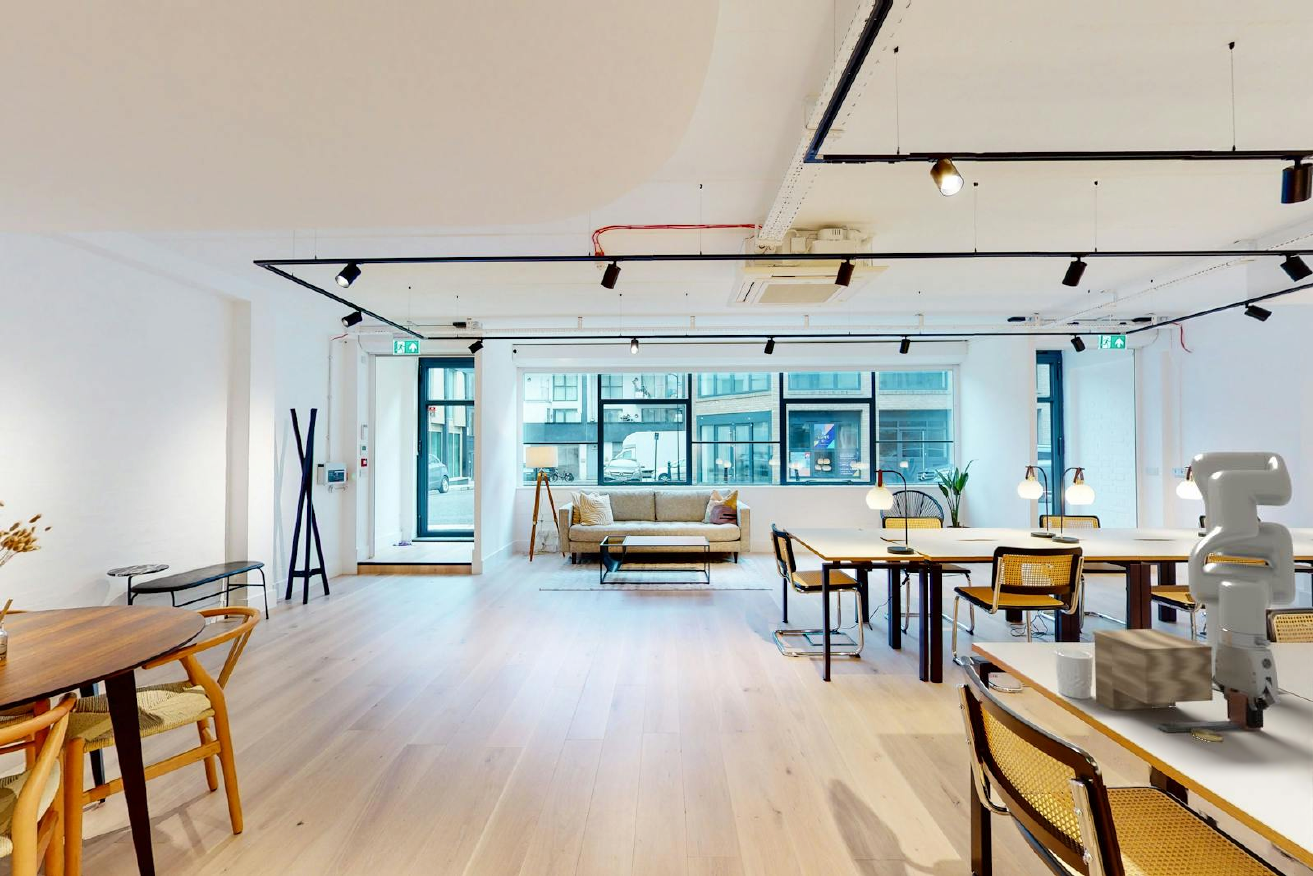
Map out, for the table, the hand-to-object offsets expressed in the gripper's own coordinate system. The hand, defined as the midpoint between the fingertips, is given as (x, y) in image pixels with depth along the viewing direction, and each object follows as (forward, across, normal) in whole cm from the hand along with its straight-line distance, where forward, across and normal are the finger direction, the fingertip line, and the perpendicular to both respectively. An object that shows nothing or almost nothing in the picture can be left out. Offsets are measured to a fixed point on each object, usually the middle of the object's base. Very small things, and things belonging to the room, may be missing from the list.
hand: (1245, 722), depth 137 cm
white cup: (+1, +22, +22) cm, 31 cm away
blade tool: (+1, 0, +9) cm, 9 cm away
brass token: (+1, -4, +13) cm, 14 cm away
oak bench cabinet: (+1, +10, +13) cm, 16 cm away
